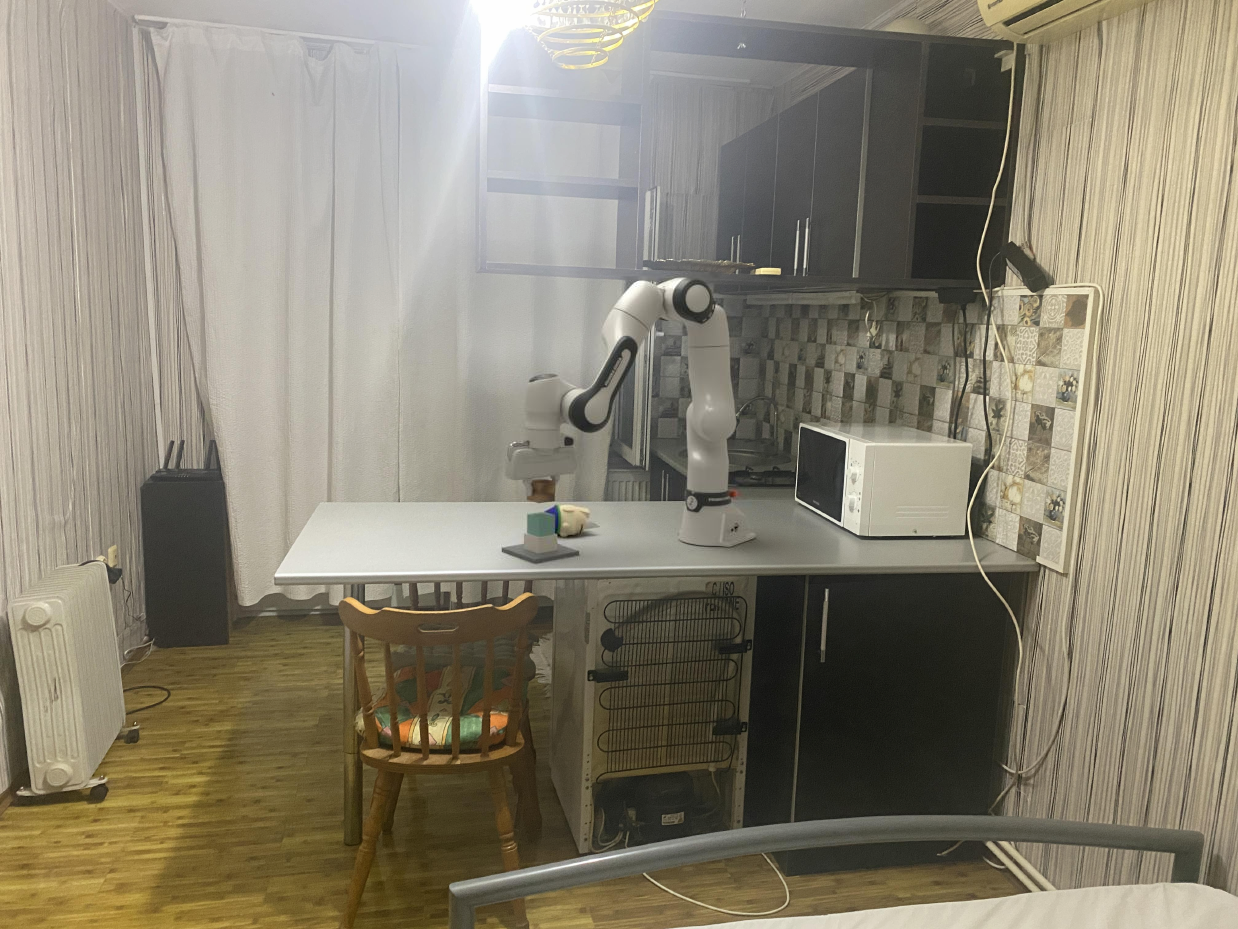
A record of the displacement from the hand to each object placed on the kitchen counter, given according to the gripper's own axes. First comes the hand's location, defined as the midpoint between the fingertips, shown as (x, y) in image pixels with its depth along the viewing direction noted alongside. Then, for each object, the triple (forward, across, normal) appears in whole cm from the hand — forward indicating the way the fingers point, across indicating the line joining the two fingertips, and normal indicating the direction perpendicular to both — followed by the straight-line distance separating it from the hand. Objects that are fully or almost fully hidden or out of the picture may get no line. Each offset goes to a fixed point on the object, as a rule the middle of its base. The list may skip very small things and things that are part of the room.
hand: (541, 494), depth 231 cm
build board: (+15, 0, 0) cm, 15 cm away
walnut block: (+2, 0, 0) cm, 2 cm away
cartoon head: (+15, +17, +12) cm, 26 cm away
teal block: (+10, 0, 0) cm, 10 cm away
